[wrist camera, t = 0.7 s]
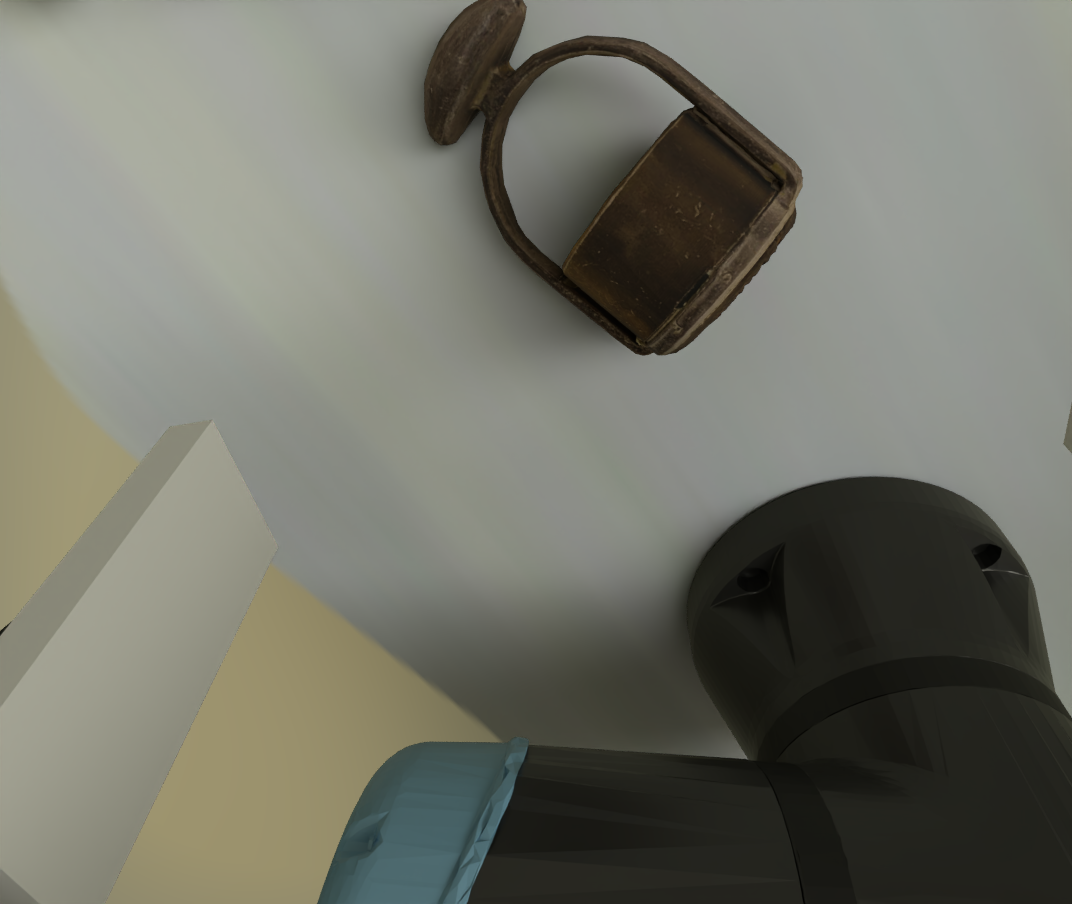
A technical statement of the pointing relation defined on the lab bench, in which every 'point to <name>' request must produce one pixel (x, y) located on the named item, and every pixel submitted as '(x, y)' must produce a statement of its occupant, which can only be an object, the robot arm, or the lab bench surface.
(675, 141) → the bucket with arched handle
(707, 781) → the robot arm
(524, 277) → the lab bench surface
